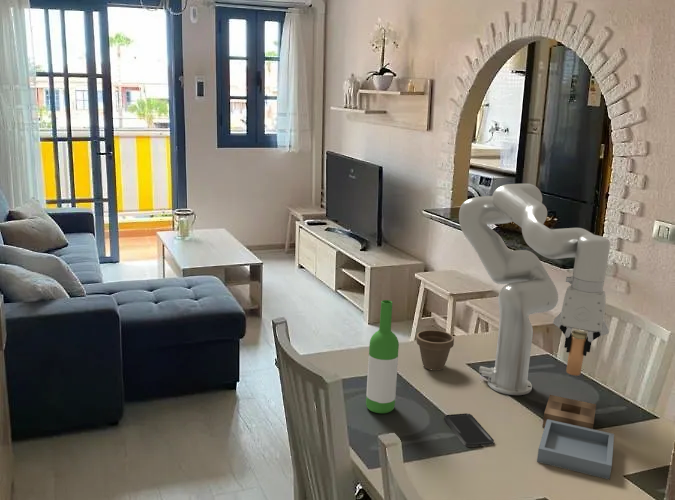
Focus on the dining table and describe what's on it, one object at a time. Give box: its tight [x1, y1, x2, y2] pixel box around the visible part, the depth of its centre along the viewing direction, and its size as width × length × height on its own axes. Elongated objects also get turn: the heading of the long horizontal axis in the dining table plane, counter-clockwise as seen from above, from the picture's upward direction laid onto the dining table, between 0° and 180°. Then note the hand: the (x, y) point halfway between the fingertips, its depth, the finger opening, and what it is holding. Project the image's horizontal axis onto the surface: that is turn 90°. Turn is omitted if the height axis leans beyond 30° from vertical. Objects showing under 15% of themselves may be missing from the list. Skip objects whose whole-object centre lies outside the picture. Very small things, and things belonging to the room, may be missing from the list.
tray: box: [536, 419, 615, 480], centre depth 165 cm, size 16×16×4 cm
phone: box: [443, 413, 495, 448], centre depth 174 cm, size 8×1×15 cm
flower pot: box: [416, 329, 455, 371], centre depth 212 cm, size 12×11×10 cm
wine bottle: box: [365, 299, 400, 414], centre depth 181 cm, size 8×8×30 cm
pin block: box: [542, 394, 597, 429], centre depth 181 cm, size 12×12×4 cm
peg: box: [565, 329, 588, 377], centre depth 177 cm, size 4×4×11 cm
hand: (576, 351), depth 177 cm, fingers closed on peg, 3 cm apart
